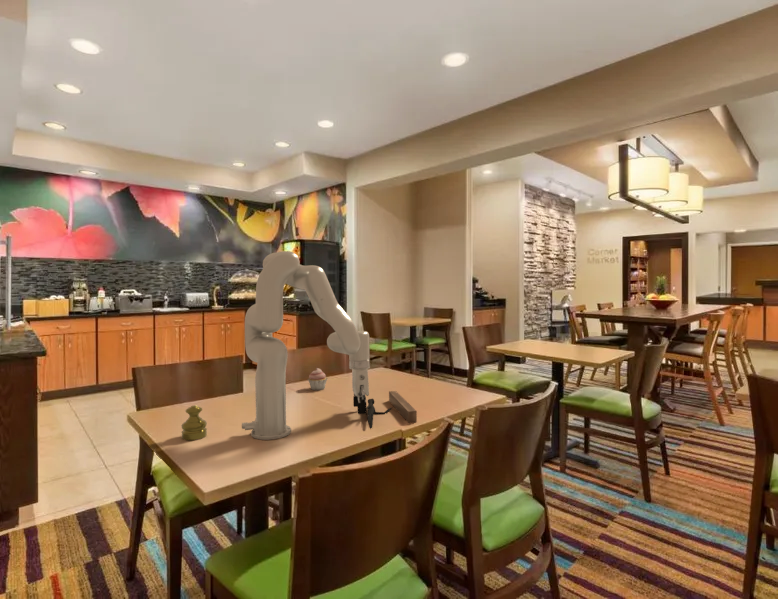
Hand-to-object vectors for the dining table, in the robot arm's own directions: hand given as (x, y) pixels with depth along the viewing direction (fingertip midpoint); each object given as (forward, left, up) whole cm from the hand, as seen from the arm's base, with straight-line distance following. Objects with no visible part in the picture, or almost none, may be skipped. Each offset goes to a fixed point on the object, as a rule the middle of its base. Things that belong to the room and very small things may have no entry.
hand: (359, 409), depth 165 cm
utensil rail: (+16, +1, -2) cm, 17 cm away
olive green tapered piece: (-56, -11, -2) cm, 57 cm away
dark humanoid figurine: (+6, -6, -2) cm, 9 cm away
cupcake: (-13, +45, -2) cm, 47 cm away
